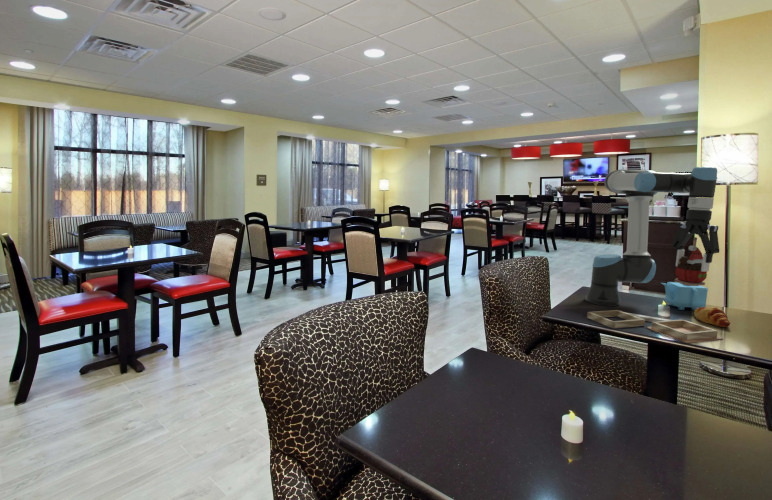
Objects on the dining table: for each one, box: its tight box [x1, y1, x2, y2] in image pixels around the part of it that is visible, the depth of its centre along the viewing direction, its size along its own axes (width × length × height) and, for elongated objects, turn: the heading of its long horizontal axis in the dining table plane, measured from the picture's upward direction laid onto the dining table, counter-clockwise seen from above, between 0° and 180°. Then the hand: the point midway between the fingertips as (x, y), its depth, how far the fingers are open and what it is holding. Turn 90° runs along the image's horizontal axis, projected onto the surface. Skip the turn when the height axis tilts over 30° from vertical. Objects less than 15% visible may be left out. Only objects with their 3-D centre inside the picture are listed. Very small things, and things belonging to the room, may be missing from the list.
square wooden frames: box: [586, 309, 724, 344], centre depth 171 cm, size 34×32×3 cm
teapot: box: [660, 281, 709, 311], centre depth 202 cm, size 18×16×13 cm
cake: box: [673, 237, 708, 286], centre depth 161 cm, size 11×9×18 cm
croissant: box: [693, 306, 731, 328], centre depth 182 cm, size 21×10×8 cm, turn 175°
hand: (691, 268), depth 161 cm, fingers closed on cake, 9 cm apart
